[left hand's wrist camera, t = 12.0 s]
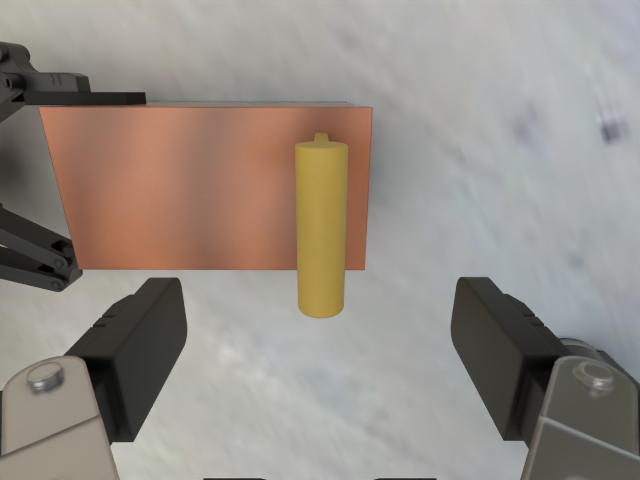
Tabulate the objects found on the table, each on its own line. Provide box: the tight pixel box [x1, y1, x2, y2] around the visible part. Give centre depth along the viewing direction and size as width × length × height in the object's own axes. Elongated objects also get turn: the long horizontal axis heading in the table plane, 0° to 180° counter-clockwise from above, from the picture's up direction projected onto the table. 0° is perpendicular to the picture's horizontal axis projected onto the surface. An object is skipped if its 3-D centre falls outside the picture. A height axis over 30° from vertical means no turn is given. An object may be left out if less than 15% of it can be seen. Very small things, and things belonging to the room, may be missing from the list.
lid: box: [39, 106, 372, 318], centre depth 20 cm, size 18×10×9 cm, turn 90°
